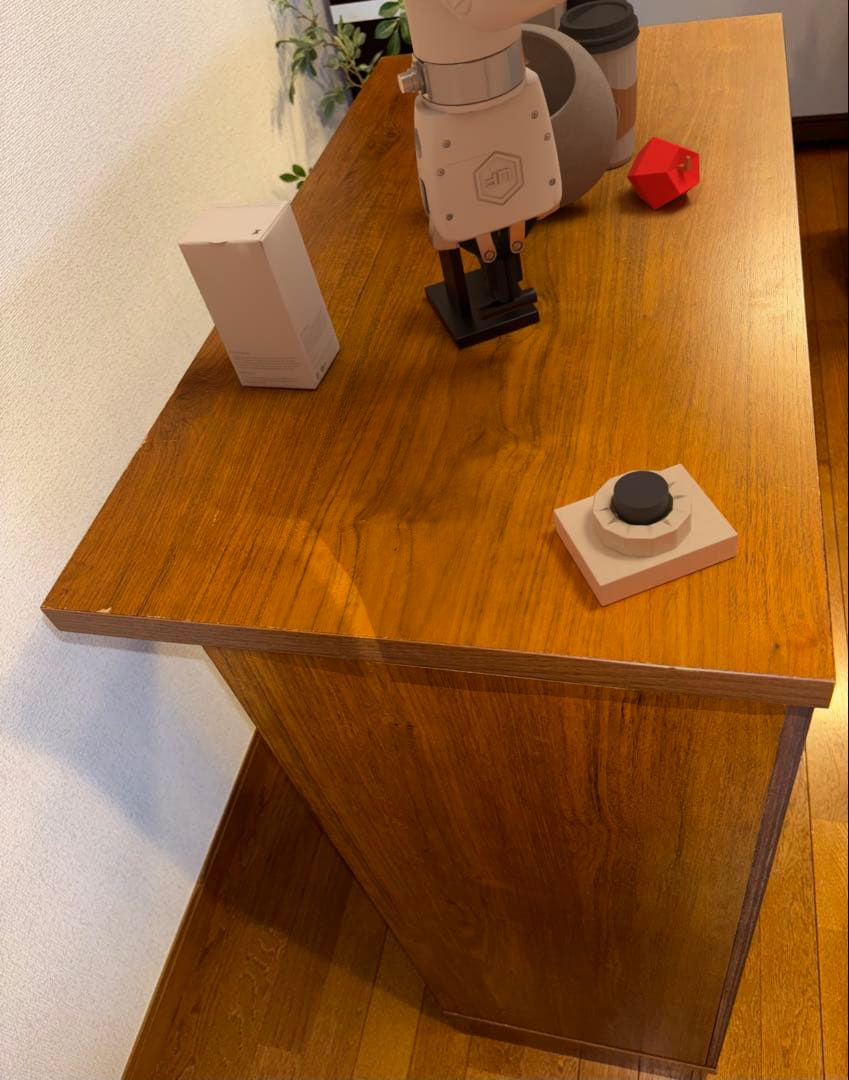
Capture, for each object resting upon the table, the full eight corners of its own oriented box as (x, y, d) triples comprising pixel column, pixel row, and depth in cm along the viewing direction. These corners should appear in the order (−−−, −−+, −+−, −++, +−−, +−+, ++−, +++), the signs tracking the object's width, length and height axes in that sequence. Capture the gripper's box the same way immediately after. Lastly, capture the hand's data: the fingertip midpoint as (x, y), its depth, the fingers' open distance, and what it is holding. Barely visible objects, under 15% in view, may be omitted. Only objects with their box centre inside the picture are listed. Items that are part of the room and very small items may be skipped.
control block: (680, 484, 72) (680, 444, 70) (737, 556, 67) (739, 515, 64) (555, 530, 72) (550, 491, 69) (602, 607, 66) (598, 568, 63)
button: (653, 482, 68) (653, 463, 67) (678, 514, 66) (678, 496, 64) (606, 499, 68) (604, 481, 67) (629, 533, 65) (627, 515, 64)
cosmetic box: (342, 350, 93) (296, 197, 82) (315, 394, 89) (262, 240, 78) (265, 346, 96) (210, 198, 85) (235, 389, 92) (174, 240, 81)
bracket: (540, 321, 90) (525, 202, 81) (458, 350, 89) (435, 233, 81) (501, 271, 97) (484, 157, 88) (426, 297, 96) (401, 185, 88)
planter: (441, 229, 105) (405, 47, 91) (460, 195, 109) (428, 17, 96) (614, 228, 98) (603, 32, 85) (627, 192, 103) (618, 0, 89)
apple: (607, 145, 99) (658, 137, 92) (660, 132, 102) (713, 124, 95) (615, 215, 102) (666, 212, 95) (667, 201, 104) (720, 198, 97)
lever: (536, 308, 84) (538, 292, 82) (482, 327, 83) (482, 312, 81) (484, 200, 88) (485, 182, 85) (432, 218, 87) (431, 200, 85)
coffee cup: (564, 179, 107) (551, 36, 96) (569, 143, 113) (557, 4, 102) (643, 171, 105) (638, 24, 94) (644, 135, 110) (639, -8, 100)
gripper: (385, 120, 66) (434, 344, 79) (591, 52, 67) (606, 284, 80) (357, 83, 71) (408, 299, 84) (549, 21, 72) (569, 244, 85)
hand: (504, 292), depth 82 cm, fingers closed
